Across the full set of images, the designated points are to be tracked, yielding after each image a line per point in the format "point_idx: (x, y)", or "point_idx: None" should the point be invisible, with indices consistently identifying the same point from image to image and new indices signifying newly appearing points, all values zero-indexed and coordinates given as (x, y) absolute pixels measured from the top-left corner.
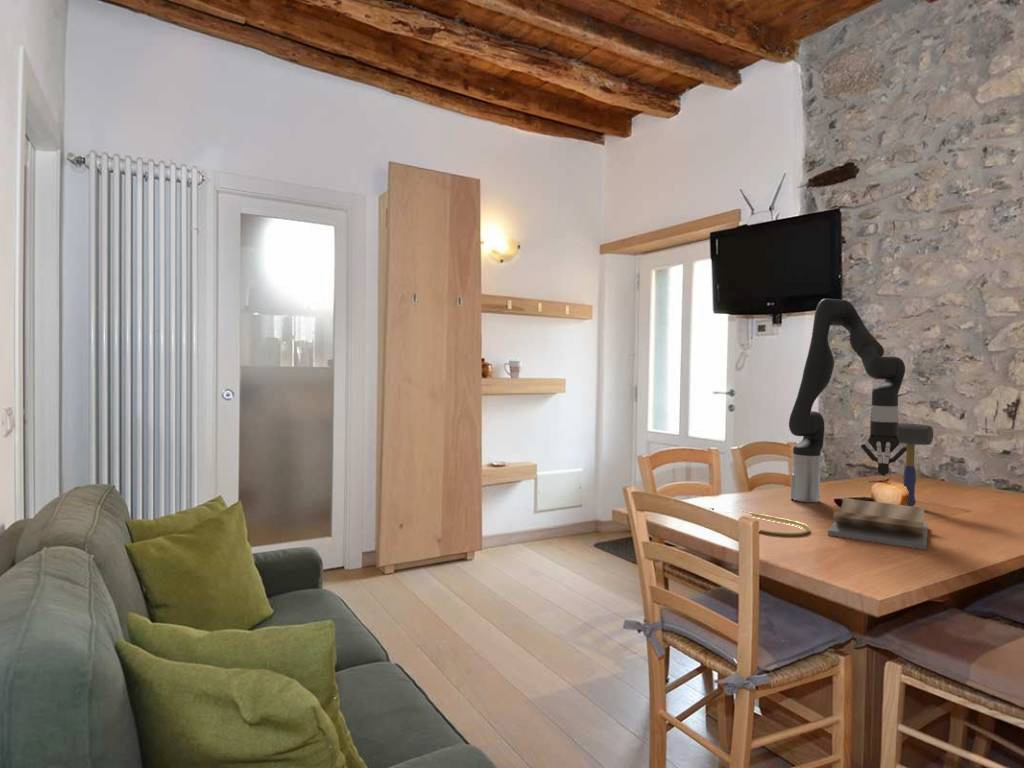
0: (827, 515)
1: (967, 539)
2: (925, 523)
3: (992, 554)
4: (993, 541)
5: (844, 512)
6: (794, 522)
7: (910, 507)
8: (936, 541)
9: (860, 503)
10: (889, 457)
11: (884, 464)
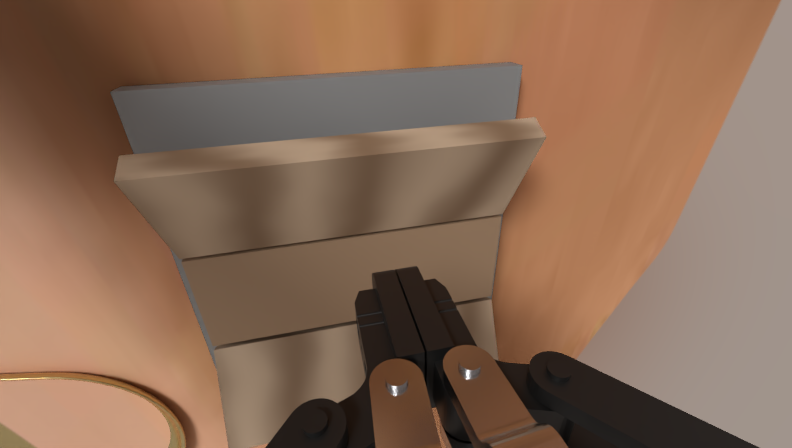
0: (49, 100)
1: (606, 154)
2: (513, 69)
3: (614, 279)
4: (677, 123)
5: (268, 441)
6: (72, 378)
7: (485, 152)
8: (512, 250)
9: (239, 190)
10: (523, 414)
11: (435, 402)
